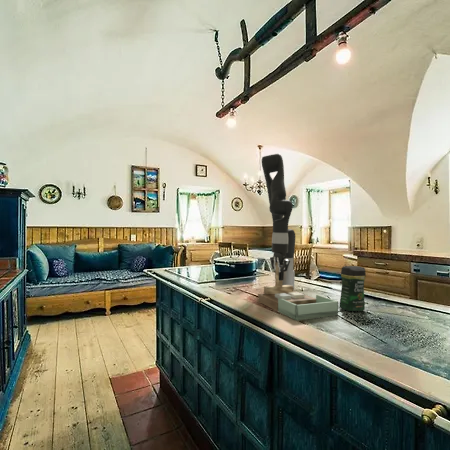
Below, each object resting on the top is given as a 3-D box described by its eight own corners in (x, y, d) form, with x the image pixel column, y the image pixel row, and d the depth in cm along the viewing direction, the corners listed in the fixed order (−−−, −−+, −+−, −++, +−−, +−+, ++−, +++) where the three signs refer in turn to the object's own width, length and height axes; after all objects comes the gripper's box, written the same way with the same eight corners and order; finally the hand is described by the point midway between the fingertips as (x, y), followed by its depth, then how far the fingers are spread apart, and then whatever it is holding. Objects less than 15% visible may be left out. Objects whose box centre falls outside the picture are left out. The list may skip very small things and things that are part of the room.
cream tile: (297, 295, 134) (297, 292, 134) (304, 297, 129) (304, 294, 129) (288, 296, 132) (288, 292, 132) (294, 298, 127) (295, 295, 127)
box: (317, 307, 127) (317, 294, 127) (338, 315, 116) (338, 301, 116) (278, 311, 120) (278, 298, 120) (296, 320, 109) (296, 305, 109)
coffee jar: (349, 313, 120) (350, 267, 120) (336, 307, 127) (337, 265, 127) (368, 311, 123) (369, 267, 123) (354, 306, 130) (355, 264, 130)
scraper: (289, 291, 141) (290, 261, 141) (293, 292, 138) (293, 262, 138) (263, 293, 136) (264, 262, 136) (267, 294, 133) (268, 263, 133)
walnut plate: (294, 298, 142) (294, 291, 142) (316, 307, 128) (317, 299, 128) (258, 301, 135) (258, 294, 135) (277, 311, 120) (277, 302, 120)
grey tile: (284, 296, 131) (284, 293, 131) (291, 299, 127) (291, 295, 127) (274, 297, 129) (274, 293, 129) (281, 299, 125) (281, 296, 125)
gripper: (295, 243, 132) (294, 282, 132) (278, 241, 145) (277, 276, 145) (281, 243, 129) (280, 283, 129) (265, 241, 142) (264, 277, 142)
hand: (279, 279), depth 137 cm, fingers closed on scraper, 2 cm apart
